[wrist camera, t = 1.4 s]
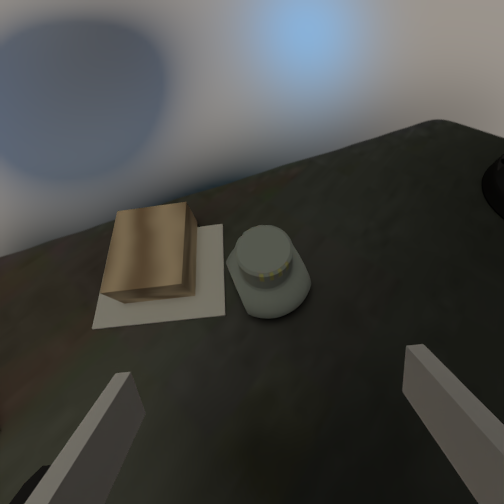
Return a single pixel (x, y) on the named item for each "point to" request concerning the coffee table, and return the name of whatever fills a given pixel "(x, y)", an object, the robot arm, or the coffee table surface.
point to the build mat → (183, 308)
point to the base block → (152, 254)
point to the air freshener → (268, 272)
